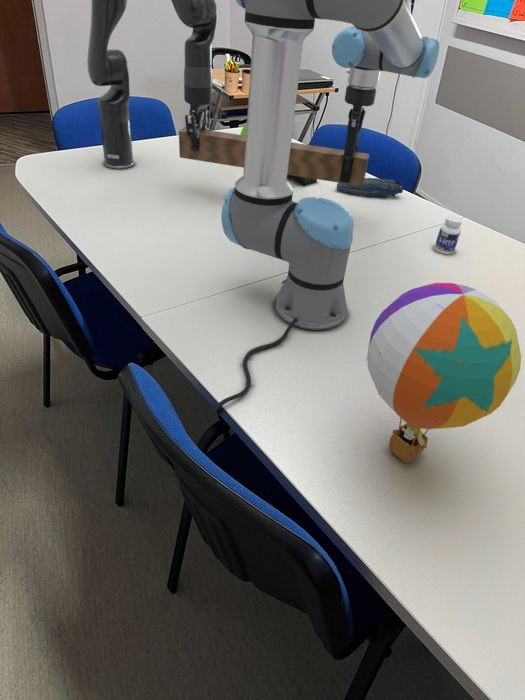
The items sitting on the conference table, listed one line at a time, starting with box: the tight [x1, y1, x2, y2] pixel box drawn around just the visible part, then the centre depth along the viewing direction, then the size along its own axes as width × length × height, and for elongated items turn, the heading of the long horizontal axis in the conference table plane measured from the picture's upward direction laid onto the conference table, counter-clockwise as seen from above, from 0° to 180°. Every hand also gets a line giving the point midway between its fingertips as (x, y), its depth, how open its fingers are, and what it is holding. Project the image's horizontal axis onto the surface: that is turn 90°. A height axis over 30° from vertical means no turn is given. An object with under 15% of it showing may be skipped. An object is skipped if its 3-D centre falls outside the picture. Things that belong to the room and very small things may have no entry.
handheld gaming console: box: [287, 175, 318, 186], centre depth 171 cm, size 12×7×10 cm
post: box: [178, 126, 370, 186], centre depth 145 cm, size 53×5×7 cm, turn 75°
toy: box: [366, 282, 522, 464], centre depth 73 cm, size 20×20×30 cm
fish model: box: [336, 177, 404, 198], centre depth 166 cm, size 7×21×5 cm, turn 84°
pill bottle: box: [434, 215, 463, 255], centre depth 137 cm, size 5×5×9 cm
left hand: (198, 147), depth 149 cm, fingers closed on post, 5 cm apart
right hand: (345, 177), depth 144 cm, fingers closed on post, 5 cm apart
